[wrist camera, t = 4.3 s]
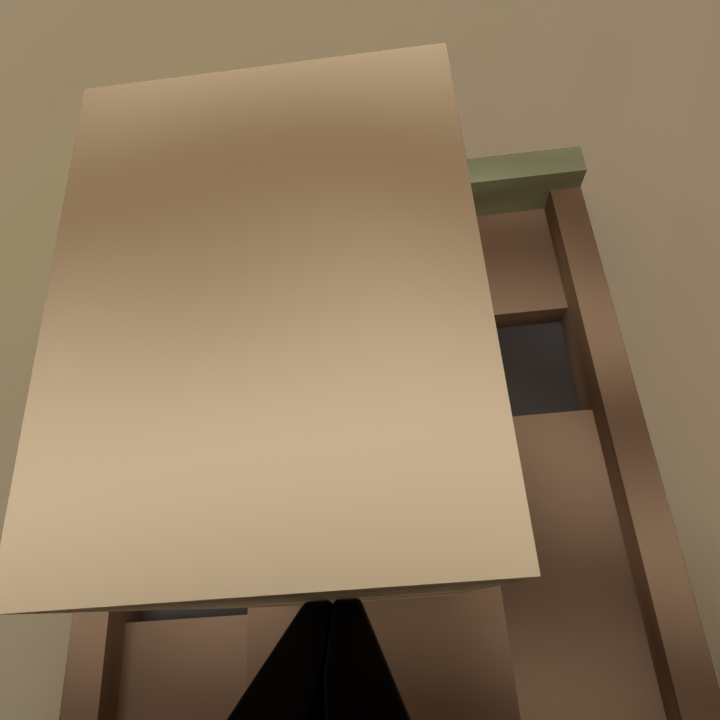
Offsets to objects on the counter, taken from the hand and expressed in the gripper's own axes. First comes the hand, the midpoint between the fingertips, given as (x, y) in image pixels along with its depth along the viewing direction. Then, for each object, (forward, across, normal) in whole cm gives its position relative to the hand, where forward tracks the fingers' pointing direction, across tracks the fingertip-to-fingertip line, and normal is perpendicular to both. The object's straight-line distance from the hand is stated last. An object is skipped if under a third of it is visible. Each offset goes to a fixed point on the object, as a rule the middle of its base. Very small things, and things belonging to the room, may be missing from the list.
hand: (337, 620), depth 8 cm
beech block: (+8, 0, +3) cm, 8 cm away
